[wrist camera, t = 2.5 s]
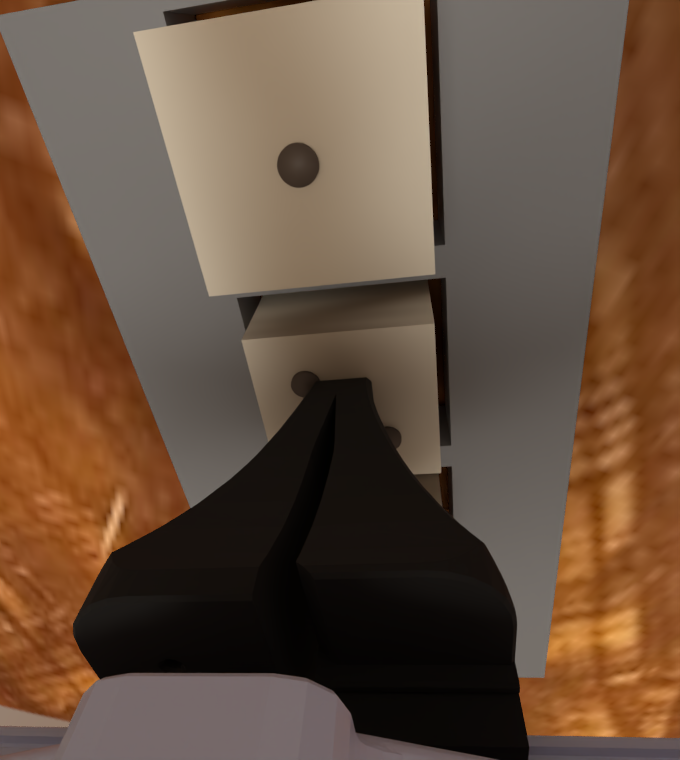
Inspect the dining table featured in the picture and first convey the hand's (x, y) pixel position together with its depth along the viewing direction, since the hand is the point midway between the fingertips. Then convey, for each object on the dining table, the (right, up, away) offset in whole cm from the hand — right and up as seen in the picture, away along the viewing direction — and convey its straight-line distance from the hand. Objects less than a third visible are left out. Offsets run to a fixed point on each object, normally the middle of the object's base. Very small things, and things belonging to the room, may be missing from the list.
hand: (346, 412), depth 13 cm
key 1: (-1, +6, -1) cm, 6 cm away
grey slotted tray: (+1, -1, +5) cm, 5 cm away
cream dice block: (0, +2, +3) cm, 3 cm away
